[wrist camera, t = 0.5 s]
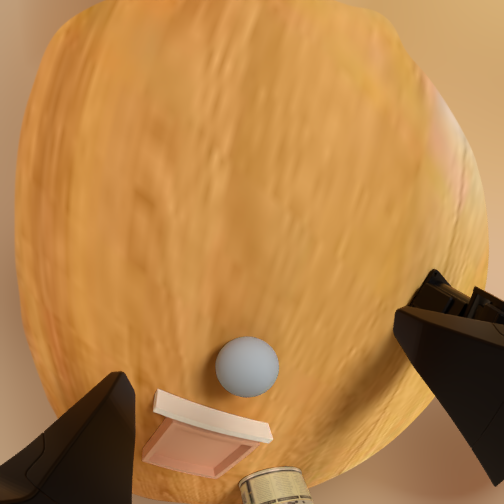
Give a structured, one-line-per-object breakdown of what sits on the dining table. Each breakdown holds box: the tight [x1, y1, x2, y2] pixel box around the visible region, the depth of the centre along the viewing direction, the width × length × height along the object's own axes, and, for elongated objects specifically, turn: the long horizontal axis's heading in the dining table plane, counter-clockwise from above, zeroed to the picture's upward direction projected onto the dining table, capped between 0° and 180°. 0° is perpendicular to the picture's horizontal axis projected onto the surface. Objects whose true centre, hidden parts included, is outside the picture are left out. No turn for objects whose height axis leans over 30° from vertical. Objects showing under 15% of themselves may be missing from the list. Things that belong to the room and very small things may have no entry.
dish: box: [142, 417, 260, 479], centre depth 25 cm, size 10×10×2 cm
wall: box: [153, 389, 273, 443], centre depth 23 cm, size 13×1×2 cm, turn 57°
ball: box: [215, 337, 279, 397], centre depth 20 cm, size 5×5×5 cm
